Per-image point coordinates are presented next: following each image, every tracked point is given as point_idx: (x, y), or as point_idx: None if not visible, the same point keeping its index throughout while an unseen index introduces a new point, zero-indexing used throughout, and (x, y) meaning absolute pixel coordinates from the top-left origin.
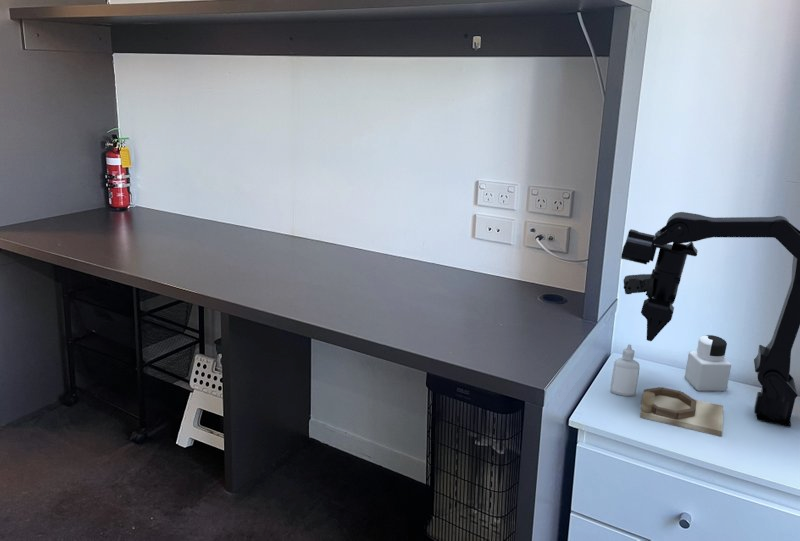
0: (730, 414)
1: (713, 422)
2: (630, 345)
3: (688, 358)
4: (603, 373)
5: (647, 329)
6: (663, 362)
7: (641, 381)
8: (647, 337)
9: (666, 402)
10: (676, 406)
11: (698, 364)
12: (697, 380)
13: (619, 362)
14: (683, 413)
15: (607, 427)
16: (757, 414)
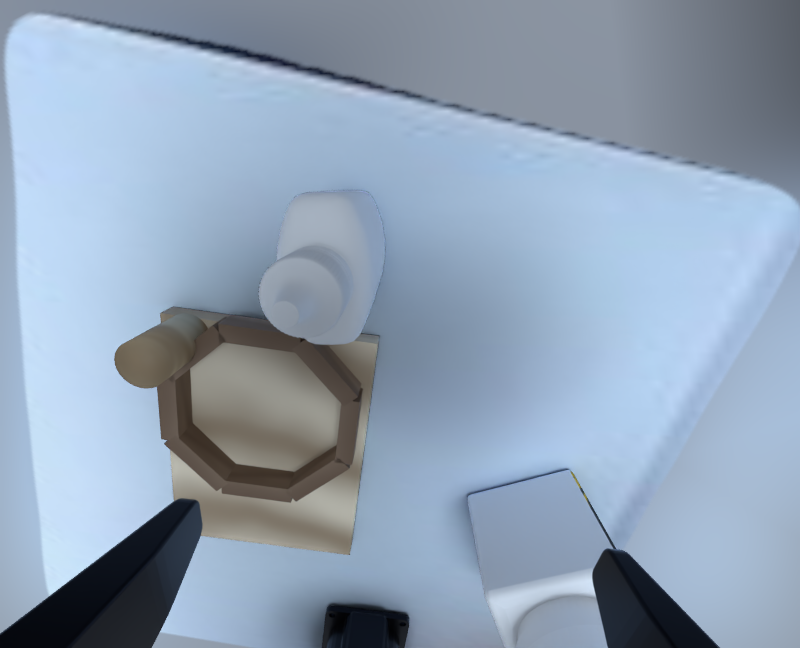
0: (337, 554)
1: (218, 519)
2: (281, 321)
3: (598, 539)
4: (527, 152)
5: (10, 631)
6: (701, 410)
7: (489, 321)
8: (150, 526)
9: (291, 403)
10: (276, 432)
11: (508, 575)
12: (481, 520)
13: (286, 226)
14: (182, 455)
15: (21, 184)
16: (349, 614)
